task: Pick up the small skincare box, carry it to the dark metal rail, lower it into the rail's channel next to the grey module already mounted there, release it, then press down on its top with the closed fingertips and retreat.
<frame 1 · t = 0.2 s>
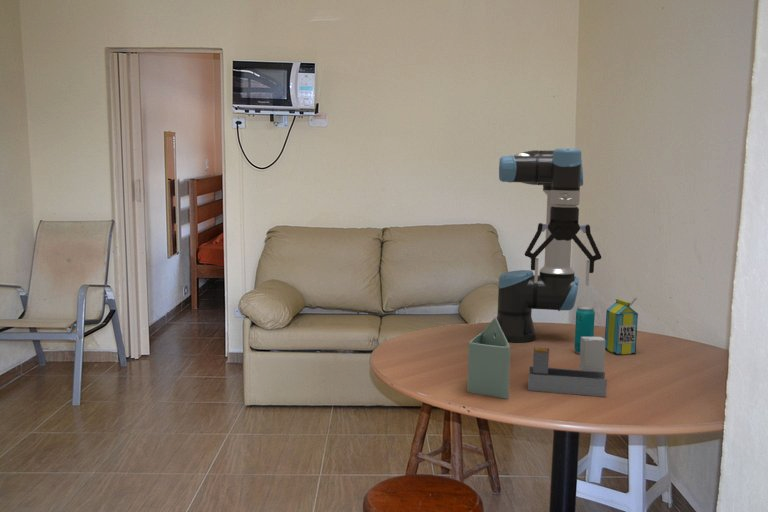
hand: (561, 283, 196), 28 cm above the table, fingers open, 13 cm apart
skincare box: (591, 380, 202), on the table
rail: (566, 389, 193), on the table
carton: (621, 352, 232), on the table
planter: (480, 391, 191), on the table
beverage can: (583, 353, 230), on the table
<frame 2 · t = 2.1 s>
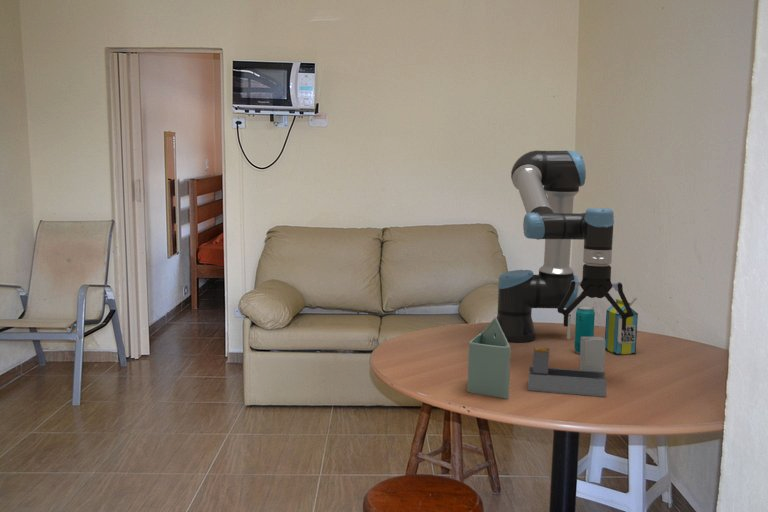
hand: (593, 339, 200), 12 cm above the table, fingers open, 13 cm apart
nothing on the table moved.
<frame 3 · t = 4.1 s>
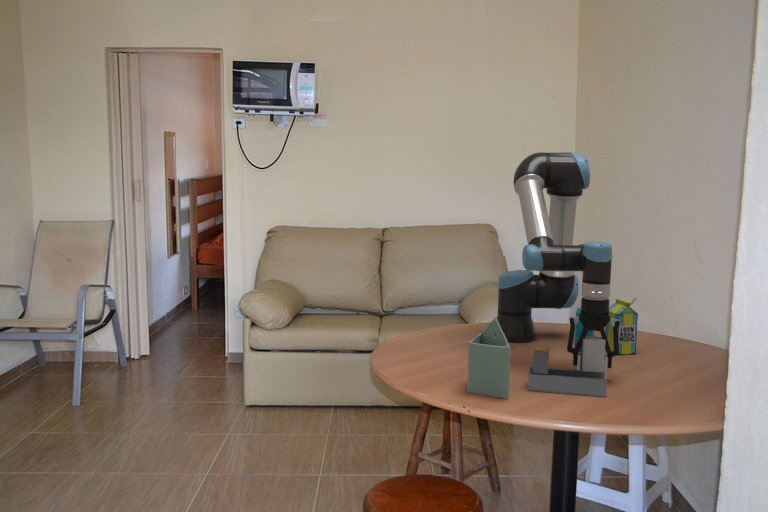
hand: (591, 377, 202), 1 cm above the table, fingers closed on skincare box, 7 cm apart
skincare box: (591, 380, 202), on the table, touching gripper
everything else where it was.
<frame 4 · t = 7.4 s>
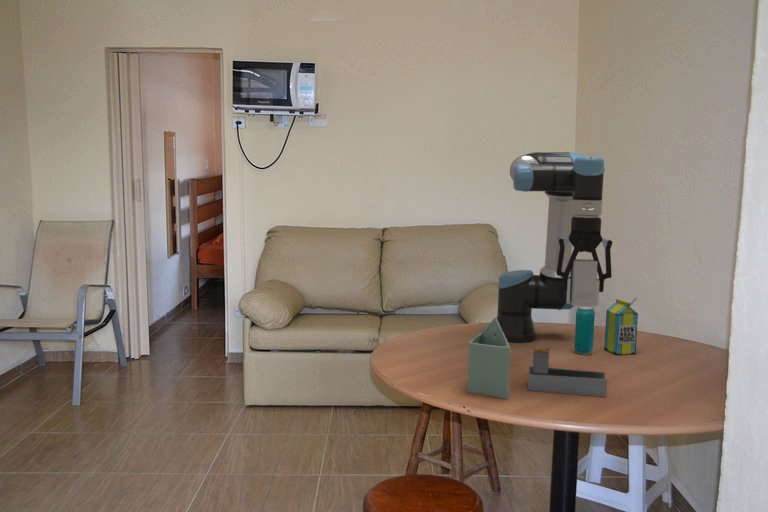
hand: (582, 303, 189), 24 cm above the table, fingers closed on skincare box, 7 cm apart
skincare box: (581, 306, 189), point 23 cm above the table, touching gripper
everything else where it was.
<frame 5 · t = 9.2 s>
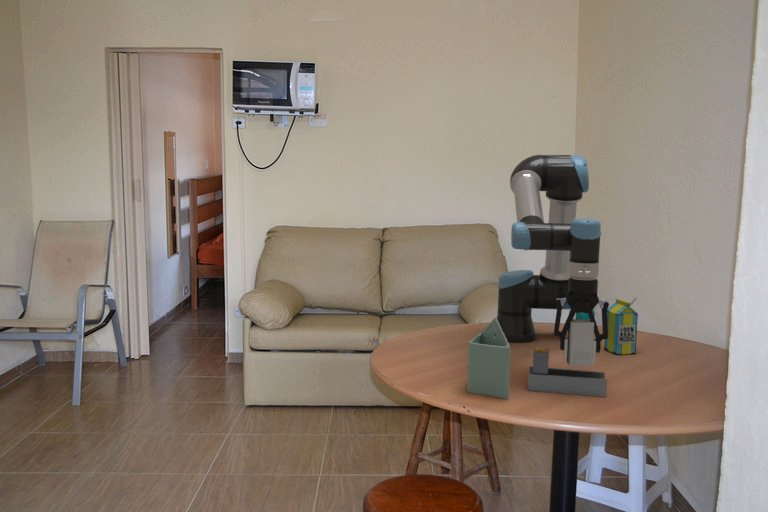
hand: (579, 362, 191), 8 cm above the table, fingers closed on skincare box, 7 cm apart
skincare box: (578, 365, 191), point 7 cm above the table, touching gripper
everything else where it was.
when the fingers open (3 cm above the table, at t = 10.5 s): skincare box stays where it is, resting on rail.
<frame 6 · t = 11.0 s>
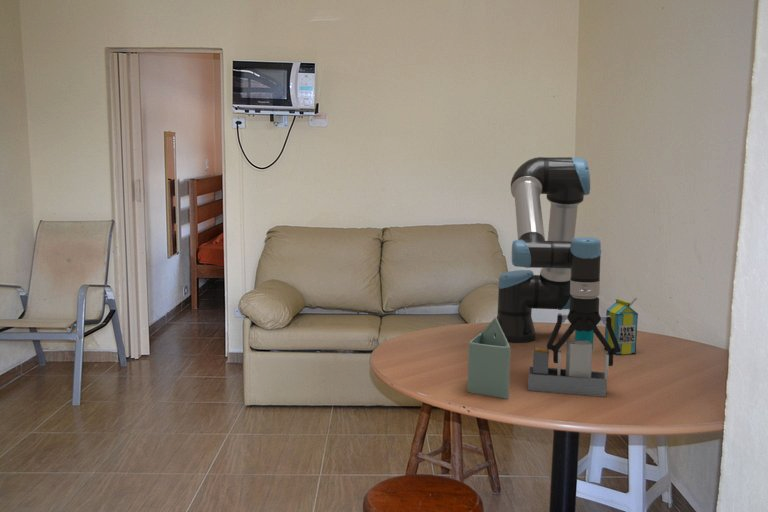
hand: (582, 376, 192), 4 cm above the table, fingers open, 12 cm apart
skincare box: (577, 386, 192), point 1 cm above the table, touching rail
everything else where it was.
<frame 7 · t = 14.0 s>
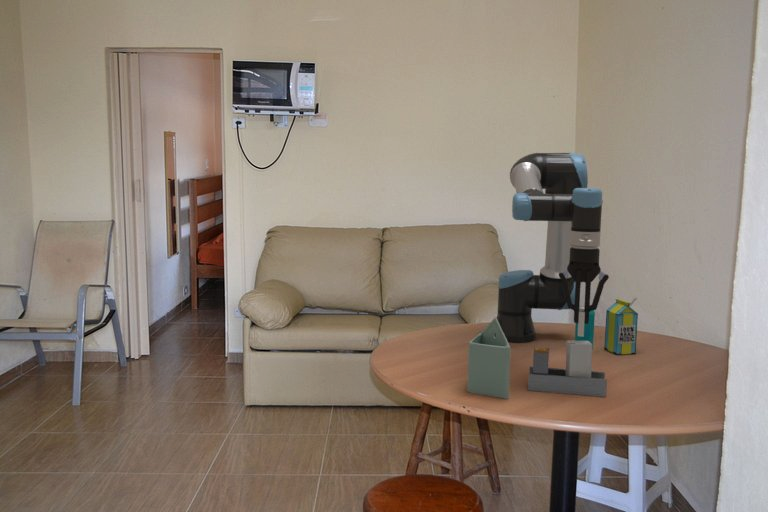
hand: (580, 335, 190), 15 cm above the table, fingers closed
nothing on the table moved.
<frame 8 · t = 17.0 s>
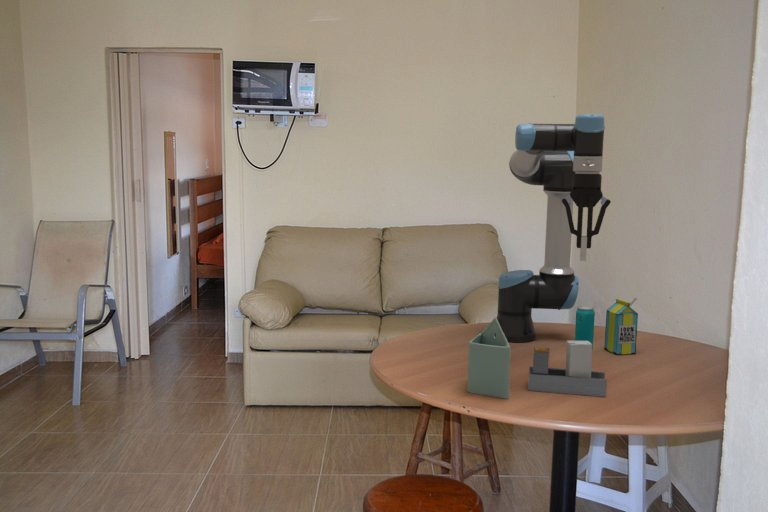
hand: (582, 260, 195), 34 cm above the table, fingers closed
nothing on the table moved.
at the end: skincare box inside the target area on the rail (0.1 cm from its centre), point 1.0 cm above the rail's base; skincare box tilted 0°; the gripper is holding nothing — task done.
